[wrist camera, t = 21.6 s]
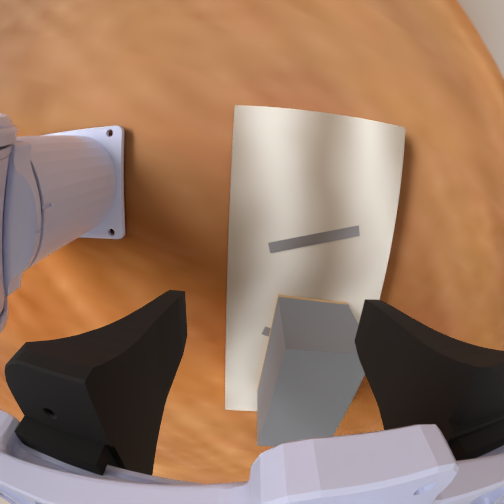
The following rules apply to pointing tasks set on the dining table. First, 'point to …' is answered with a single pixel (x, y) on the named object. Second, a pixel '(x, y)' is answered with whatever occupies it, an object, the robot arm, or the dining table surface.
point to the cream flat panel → (303, 223)
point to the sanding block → (307, 370)
